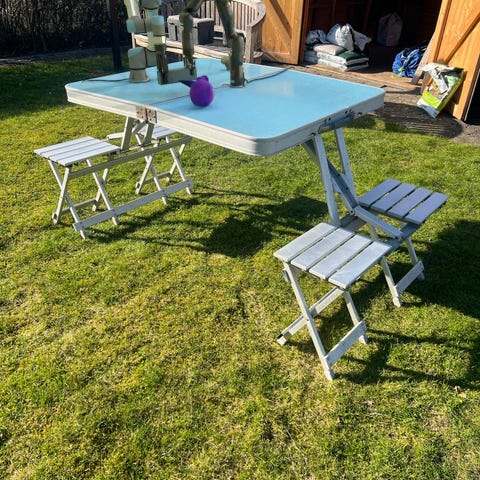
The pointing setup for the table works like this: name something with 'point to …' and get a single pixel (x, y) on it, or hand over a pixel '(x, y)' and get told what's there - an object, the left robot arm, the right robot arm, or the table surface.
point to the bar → (177, 75)
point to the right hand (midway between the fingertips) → (190, 74)
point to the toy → (200, 91)
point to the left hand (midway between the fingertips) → (163, 82)
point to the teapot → (227, 60)
